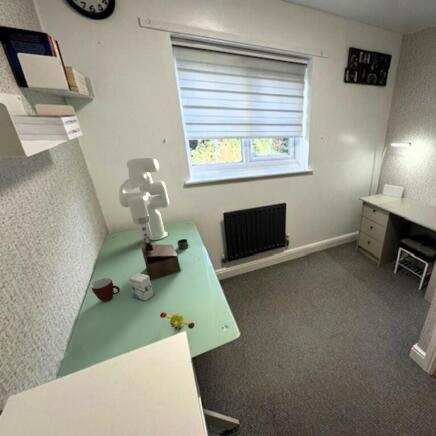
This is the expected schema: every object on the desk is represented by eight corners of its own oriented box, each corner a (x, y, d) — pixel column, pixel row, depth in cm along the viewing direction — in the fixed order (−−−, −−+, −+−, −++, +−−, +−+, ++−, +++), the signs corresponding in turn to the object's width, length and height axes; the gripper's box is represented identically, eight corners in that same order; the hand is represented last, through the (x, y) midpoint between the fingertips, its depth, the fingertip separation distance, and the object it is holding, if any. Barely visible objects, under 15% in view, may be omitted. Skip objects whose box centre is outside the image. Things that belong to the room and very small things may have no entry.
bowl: (177, 246, 166) (176, 240, 164) (187, 243, 169) (186, 238, 168) (179, 250, 161) (178, 244, 159) (189, 247, 164) (188, 241, 163)
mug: (124, 291, 123) (119, 275, 119) (120, 301, 116) (114, 285, 112) (100, 295, 120) (94, 279, 116) (94, 306, 113) (87, 290, 109)
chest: (150, 280, 131) (145, 265, 127) (146, 267, 142) (142, 253, 138) (180, 271, 140) (177, 256, 136) (175, 259, 151) (172, 245, 147)
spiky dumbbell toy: (157, 326, 103) (154, 314, 101) (167, 317, 108) (164, 305, 105) (190, 339, 98) (187, 327, 95) (199, 329, 102) (197, 317, 100)
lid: (143, 257, 125) (144, 248, 124) (140, 245, 136) (141, 237, 135) (177, 256, 136) (178, 248, 135) (172, 245, 147) (173, 238, 146)
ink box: (133, 296, 120) (127, 278, 115) (142, 290, 124) (136, 272, 119) (146, 301, 117) (140, 282, 112) (154, 294, 121) (149, 275, 117)
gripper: (151, 223, 121) (158, 253, 128) (147, 212, 133) (154, 240, 141) (134, 226, 117) (143, 257, 124) (132, 215, 129) (140, 244, 137)
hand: (149, 248), depth 132 cm, fingers closed on lid, 5 cm apart
